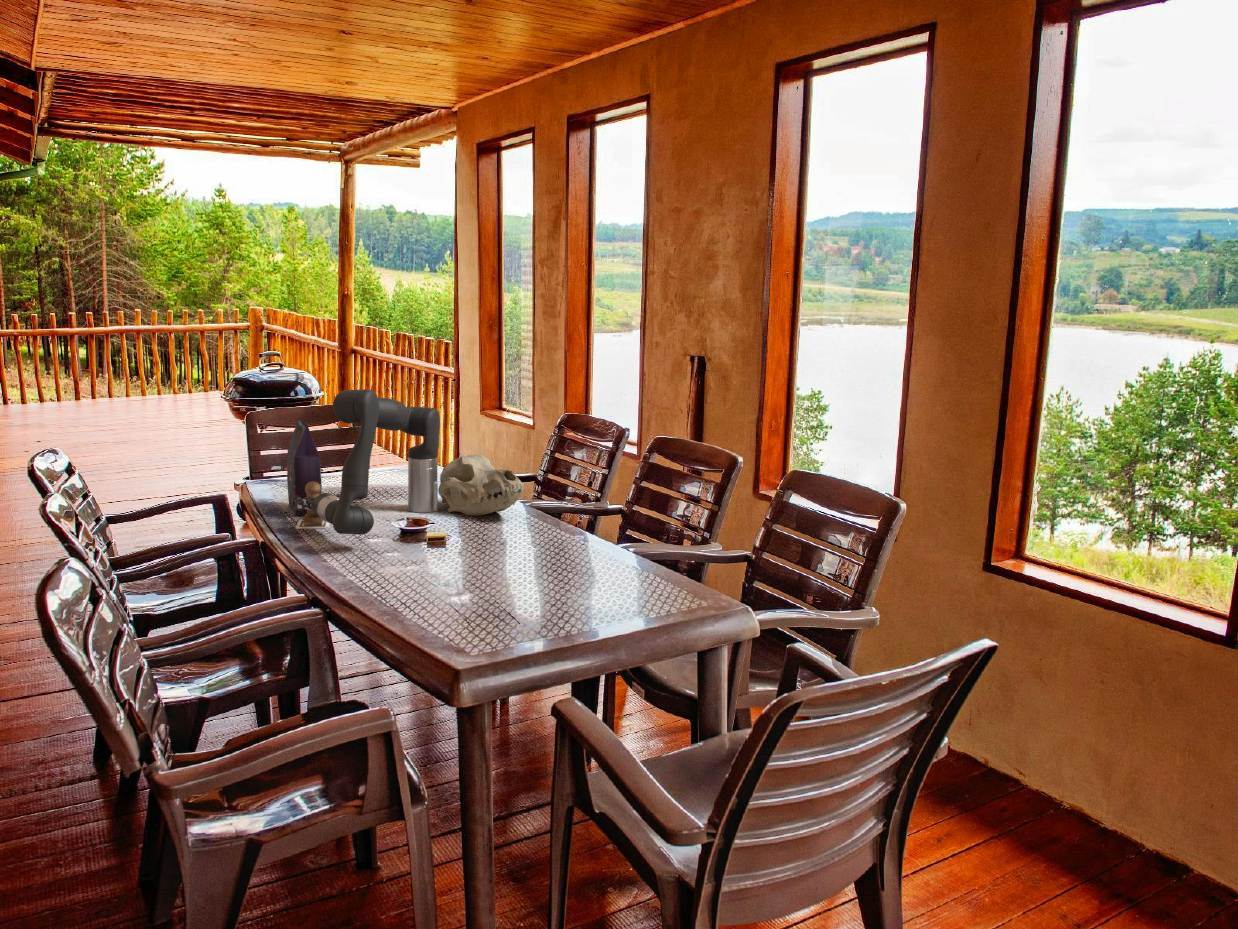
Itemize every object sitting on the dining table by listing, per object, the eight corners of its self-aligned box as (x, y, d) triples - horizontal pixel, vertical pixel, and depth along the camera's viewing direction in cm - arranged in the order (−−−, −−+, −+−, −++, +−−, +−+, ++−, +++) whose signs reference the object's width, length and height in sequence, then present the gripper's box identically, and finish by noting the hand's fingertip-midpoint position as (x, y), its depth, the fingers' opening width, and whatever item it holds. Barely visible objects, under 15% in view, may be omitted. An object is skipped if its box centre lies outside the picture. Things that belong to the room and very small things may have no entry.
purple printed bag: (314, 504, 303) (312, 418, 298) (322, 516, 289) (321, 426, 284) (287, 506, 300) (285, 419, 295) (294, 517, 285) (292, 426, 280)
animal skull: (501, 504, 280) (484, 435, 283) (428, 532, 301) (413, 468, 304) (550, 498, 297) (534, 433, 300) (478, 525, 319) (463, 464, 321)
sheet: (330, 521, 282) (330, 519, 282) (328, 528, 275) (328, 526, 275) (298, 521, 281) (298, 520, 280) (295, 528, 273) (295, 527, 273)
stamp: (323, 521, 280) (322, 479, 278) (321, 525, 276) (321, 483, 273) (305, 521, 279) (304, 479, 277) (303, 526, 275) (303, 483, 272)
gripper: (354, 493, 269) (333, 482, 281) (305, 498, 260) (286, 487, 273) (355, 518, 270) (334, 507, 283) (305, 524, 262) (286, 512, 274)
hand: (310, 497), depth 278 cm, fingers open, 8 cm apart
